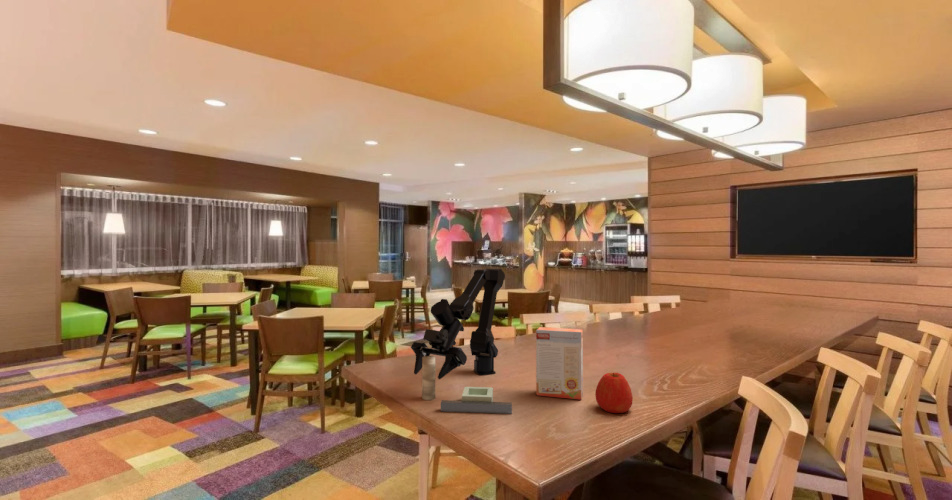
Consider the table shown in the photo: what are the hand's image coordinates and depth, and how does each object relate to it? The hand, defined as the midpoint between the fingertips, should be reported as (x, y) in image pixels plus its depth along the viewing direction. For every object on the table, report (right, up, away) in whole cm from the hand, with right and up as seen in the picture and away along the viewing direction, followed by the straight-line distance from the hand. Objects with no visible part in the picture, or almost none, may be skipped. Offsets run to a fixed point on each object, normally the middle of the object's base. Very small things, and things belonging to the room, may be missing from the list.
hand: (426, 376), depth 133 cm
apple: (+55, -7, -8) cm, 56 cm away
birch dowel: (+1, -7, +1) cm, 7 cm away
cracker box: (+41, -7, +4) cm, 42 cm away
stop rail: (+15, -7, -10) cm, 19 cm away
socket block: (+16, -7, -4) cm, 18 cm away
